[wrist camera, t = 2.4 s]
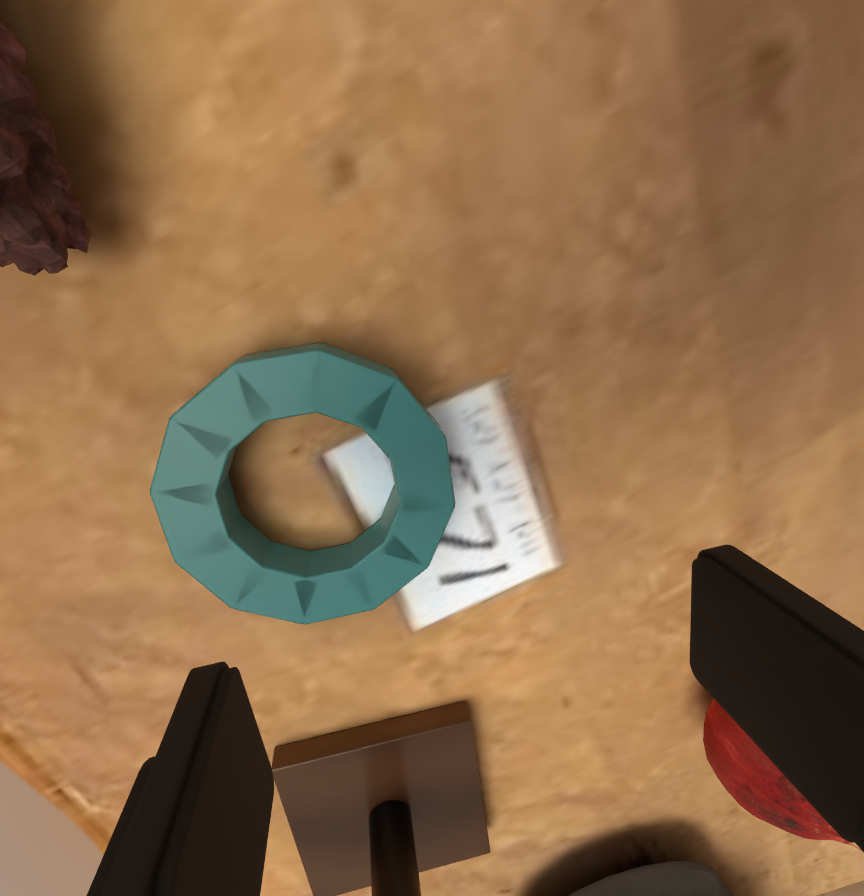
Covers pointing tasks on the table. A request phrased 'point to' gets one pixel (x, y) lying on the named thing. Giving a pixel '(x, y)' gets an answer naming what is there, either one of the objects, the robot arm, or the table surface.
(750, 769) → the onion
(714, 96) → the table surface
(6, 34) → the pine cone
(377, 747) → the stand
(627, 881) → the casserole
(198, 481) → the ring
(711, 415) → the table surface
